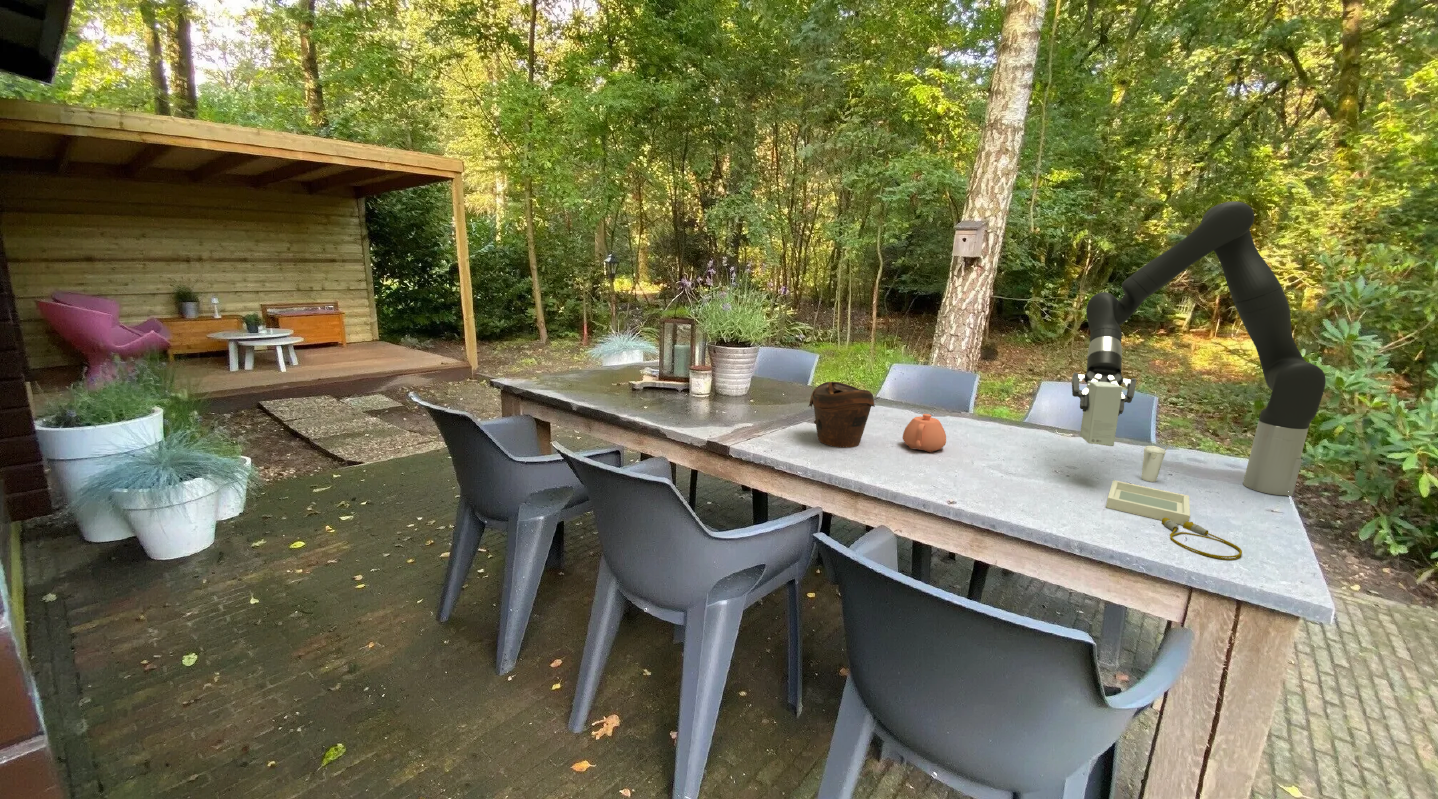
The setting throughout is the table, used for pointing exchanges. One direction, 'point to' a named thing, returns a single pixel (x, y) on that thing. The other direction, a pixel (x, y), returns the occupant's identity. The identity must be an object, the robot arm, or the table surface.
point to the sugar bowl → (925, 434)
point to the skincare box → (1101, 413)
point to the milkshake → (1152, 462)
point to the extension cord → (1200, 530)
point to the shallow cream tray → (1149, 502)
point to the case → (840, 413)
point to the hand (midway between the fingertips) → (1101, 411)
